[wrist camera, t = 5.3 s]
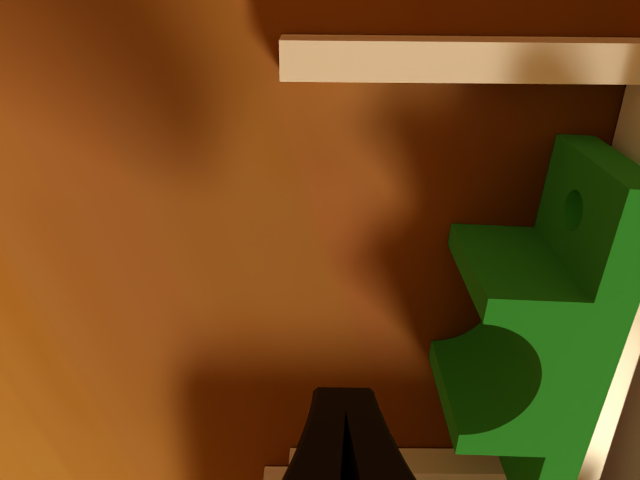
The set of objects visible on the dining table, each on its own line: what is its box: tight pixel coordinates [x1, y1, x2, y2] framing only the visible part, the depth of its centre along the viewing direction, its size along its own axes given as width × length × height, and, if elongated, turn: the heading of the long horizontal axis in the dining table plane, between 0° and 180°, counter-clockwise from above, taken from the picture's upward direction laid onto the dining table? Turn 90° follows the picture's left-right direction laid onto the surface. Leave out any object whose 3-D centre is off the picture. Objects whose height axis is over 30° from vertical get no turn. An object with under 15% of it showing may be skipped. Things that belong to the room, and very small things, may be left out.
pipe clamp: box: [429, 134, 640, 480], centre depth 17 cm, size 11×4×5 cm, turn 177°
